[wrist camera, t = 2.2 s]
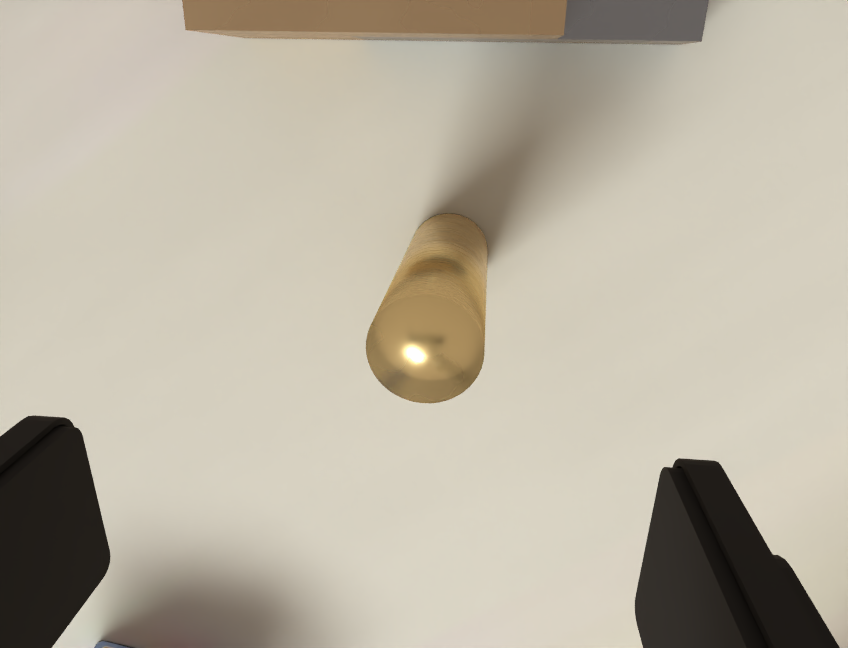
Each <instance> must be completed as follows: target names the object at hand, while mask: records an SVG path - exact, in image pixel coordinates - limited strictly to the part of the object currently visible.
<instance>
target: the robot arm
mask: <svg viewBox="0 0 848 648" xmlns="http://www.w3.org/2000/svg"><path fill="white" fill-rule="evenodd" d="M109 563H110V550H109V546H108V542H107V537H106V533H105V529H104V525H103V520H102V516H101V512H100V508H99V503H98V499H97V495H96V491H95V486H94V482H93V478H92V474H91V469H90V465H89V461H88V457H87V452H86V448H85V444H84V440H83V436H82V433H81V431H80V430H79V429H78V428H75V427H74V426H73V423H72V422H71V421H70V420H69V419H67V418H62V417H47V416H28V417H26V418H24V419H22V420H21V421H20V422H19V423H17V424H16V425H15V426H13V427H12V428H11V429H10V430H8V431H7V432H6V433H4V434H3V435H2V436H0V648H52V646H53V645H54V644H55V642H56V641H57V640H58V638H59V637H60V636H61V634H62V633H63V632H64V630H65V629H66V628H67V626H68V625H69V623H70V622H71V621H72V619H73V618H74V617H75V615H76V614H77V613H78V611H79V610H80V609H81V607H82V606H83V605H84V603H85V602H86V601H87V599H88V598H89V596H90V595H91V594H92V592H93V591H94V590H95V588H96V587H97V586H98V584H99V583H100V582H101V580H102V579H103V577H104V576H105V574H106V572H107V570H108V567H109ZM635 615H636V621H637V626H638V630H639V633H640V637H641V641H642V645H643V648H839V646H838V644H837V643H836V641H835V639H834V638H833V636H832V634H831V633H830V631H829V629H828V628H827V626H826V624H825V623H824V621H823V619H822V618H821V616H820V614H819V613H818V611H817V609H816V608H815V606H814V604H813V603H812V601H811V599H810V598H809V596H808V594H807V593H806V591H805V589H804V587H803V586H802V584H801V582H800V581H799V579H798V577H797V576H796V574H795V572H794V571H793V569H792V568H791V566H790V565H789V564H788V563H787V561H786V560H785V559H783V558H782V557H780V556H779V555H772V553H771V551H770V549H769V548H768V546H767V544H766V543H765V541H764V539H763V537H762V536H761V534H760V532H759V530H758V529H757V527H756V525H755V523H754V522H753V520H752V518H751V517H750V515H749V513H748V511H747V510H746V508H745V506H744V504H743V503H742V501H741V499H740V497H739V496H738V494H737V492H736V490H735V489H734V487H733V485H732V484H731V482H730V480H729V478H728V477H727V475H726V473H725V471H724V470H723V468H722V466H721V465H720V464H719V463H718V462H716V461H709V460H694V459H677V460H676V461H675V463H674V465H673V468H670V467H664V468H663V469H662V471H661V474H660V478H659V483H658V488H657V493H656V498H655V503H654V508H653V513H652V518H651V522H650V527H649V532H648V537H647V542H646V547H645V552H644V557H643V562H642V567H641V572H640V577H639V582H638V587H637V592H636V598H635Z"/></svg>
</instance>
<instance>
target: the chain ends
mask: <svg viewBox="0 0 848 648" xmlns="http://www.w3.org/2000/svg"><path fill="white" fill-rule="evenodd" d="M708 1H709V0H182V2H183V10H184V19H185V28H186V30H189V31H197V32H204V33H212V34H219V35H227V36H234V37H242V38H276V39H343V40H411V41H478V42H545V43H612V44H687V43H694V42H701V41H702V36H703V30H704V24H705V18H706V13H707V7H708Z"/></svg>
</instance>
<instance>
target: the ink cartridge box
mask: <svg viewBox="0 0 848 648" xmlns="http://www.w3.org/2000/svg"><path fill="white" fill-rule="evenodd" d="M94 648H130V647H126V646H122V645H118V644H114V643H110V642H106V641H101V642H99V643H97V644H96V646H95V647H94Z"/></svg>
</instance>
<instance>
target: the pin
mask: <svg viewBox="0 0 848 648" xmlns="http://www.w3.org/2000/svg"><path fill="white" fill-rule="evenodd" d="M487 254H488V250H487V243H486V239H485V237H484V234H483V233H482V231H481V230H480V228H479V227H478V226H477V225H476V224H475V223H474V222H473V221H471V220H470V219H468V218H466V217H464V216H461V215H457V214H440V215H437V216H434V217H432V218H430V219H428V220H427V221H425V222H424V223H423V224H422V225H421V226H420V227H419V228H418V230H417V231H416V233H415V235H414V237H413V239H412V241H411V243H410V245H409V247H408V249H407V251H406V253H405V256H404V258H403V260H402V262H401V264H400V266H399V268H398V270H397V272H396V274H395V276H394V278H393V280H392V282H391V285H390V287H389V289H388V291H387V293H386V295H385V297H384V299H383V301H382V303H381V305H380V307H379V309H378V311H377V314H376V316H375V318H374V320H373V322H372V324H371V326H370V328H369V331H368V335H367V340H366V353H367V358H368V362H369V365H370V367H371V369H372V371H373V373H374V375H375V376H376V378H377V379H378V380H379V381H380V382H381V384H382V385H383V386H384V387H386V388H387V389H388V390H389V391H391V392H392V393H394V394H395V395H397V396H399V397H401V398H404V399H406V400H409V401H413V402H419V403H437V402H442V401H446V400H449V399H452V398H454V397H456V396H458V395H459V394H461V393H462V392H464V391H465V390H466V389H467V388H469V387H470V386H471V384H472V383H473V382H474V381H475V379H476V378H477V376H478V375H479V372H480V370H481V368H482V364H483V360H484V345H485V315H486V284H487Z"/></svg>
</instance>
